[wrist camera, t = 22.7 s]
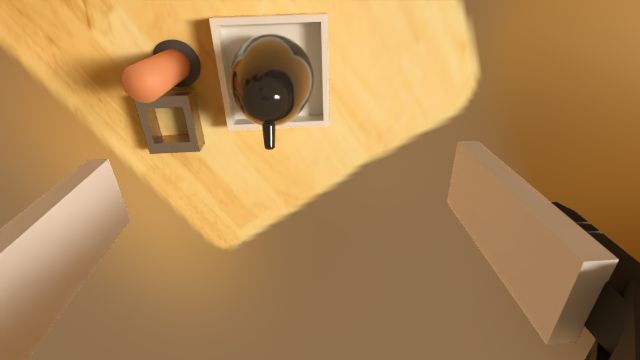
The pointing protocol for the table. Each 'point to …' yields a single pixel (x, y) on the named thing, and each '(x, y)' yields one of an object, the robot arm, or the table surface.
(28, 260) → the robot arm
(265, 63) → the dark piece
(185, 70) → the pin
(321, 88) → the dock cradle
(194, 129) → the pin mount
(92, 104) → the table surface
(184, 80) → the pin pad
